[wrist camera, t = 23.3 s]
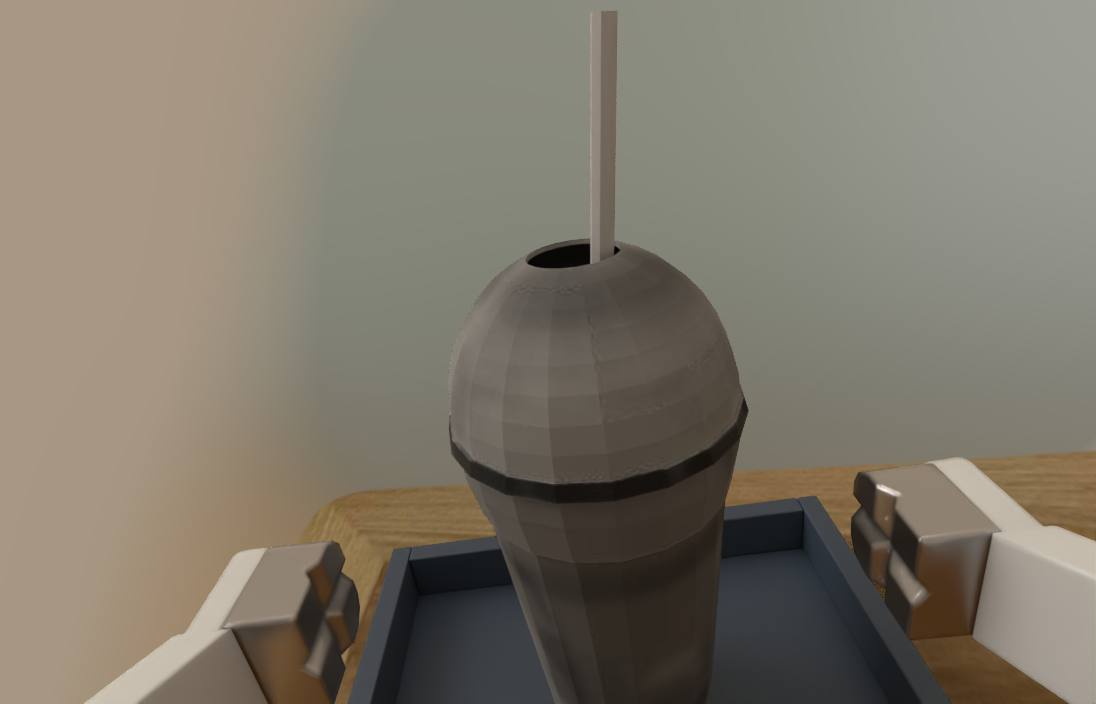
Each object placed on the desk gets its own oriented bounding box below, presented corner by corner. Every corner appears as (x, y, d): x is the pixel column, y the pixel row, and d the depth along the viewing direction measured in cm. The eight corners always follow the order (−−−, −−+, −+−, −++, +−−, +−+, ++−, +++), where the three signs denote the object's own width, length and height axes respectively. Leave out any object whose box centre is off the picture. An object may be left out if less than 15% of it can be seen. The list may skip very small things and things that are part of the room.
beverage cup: (556, 609, 24) (447, 48, 16) (751, 632, 22) (742, -6, 14) (492, 807, 18) (258, 58, 10) (754, 867, 16) (743, -38, 8)
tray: (299, 1037, 15) (262, 985, 14) (408, 594, 27) (393, 548, 26) (1061, 967, 14) (1086, 906, 13) (814, 543, 26) (816, 494, 25)
